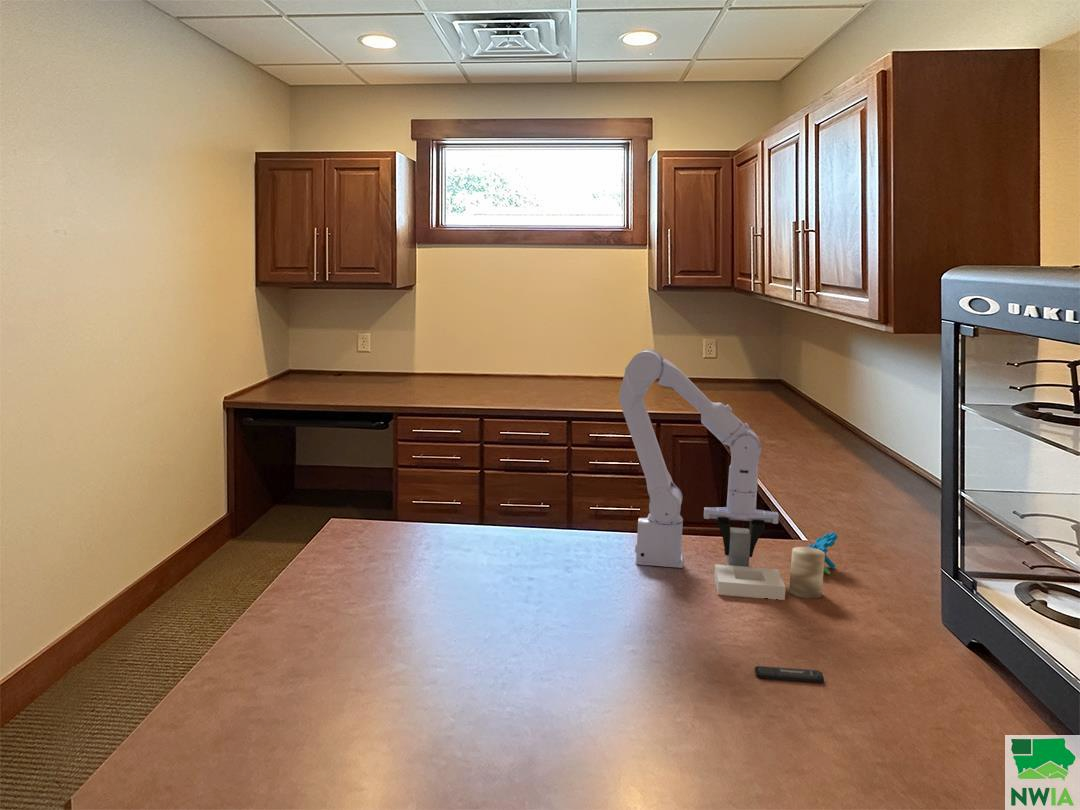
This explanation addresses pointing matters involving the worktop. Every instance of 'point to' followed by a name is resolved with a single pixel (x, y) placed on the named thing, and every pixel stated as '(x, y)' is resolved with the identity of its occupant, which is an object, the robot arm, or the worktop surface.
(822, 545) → the gear
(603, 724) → the worktop surface
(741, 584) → the socket block
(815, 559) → the round peg
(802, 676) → the usb stick
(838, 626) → the worktop surface
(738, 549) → the square peg
